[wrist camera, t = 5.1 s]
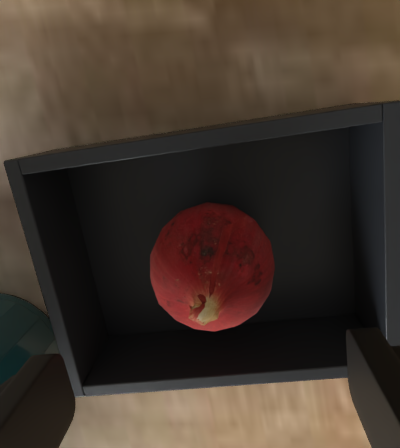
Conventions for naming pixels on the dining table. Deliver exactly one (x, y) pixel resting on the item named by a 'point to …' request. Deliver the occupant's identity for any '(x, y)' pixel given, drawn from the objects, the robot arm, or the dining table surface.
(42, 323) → the cup
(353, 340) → the robot arm
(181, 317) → the onion
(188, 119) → the dining table surface
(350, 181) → the black open box
